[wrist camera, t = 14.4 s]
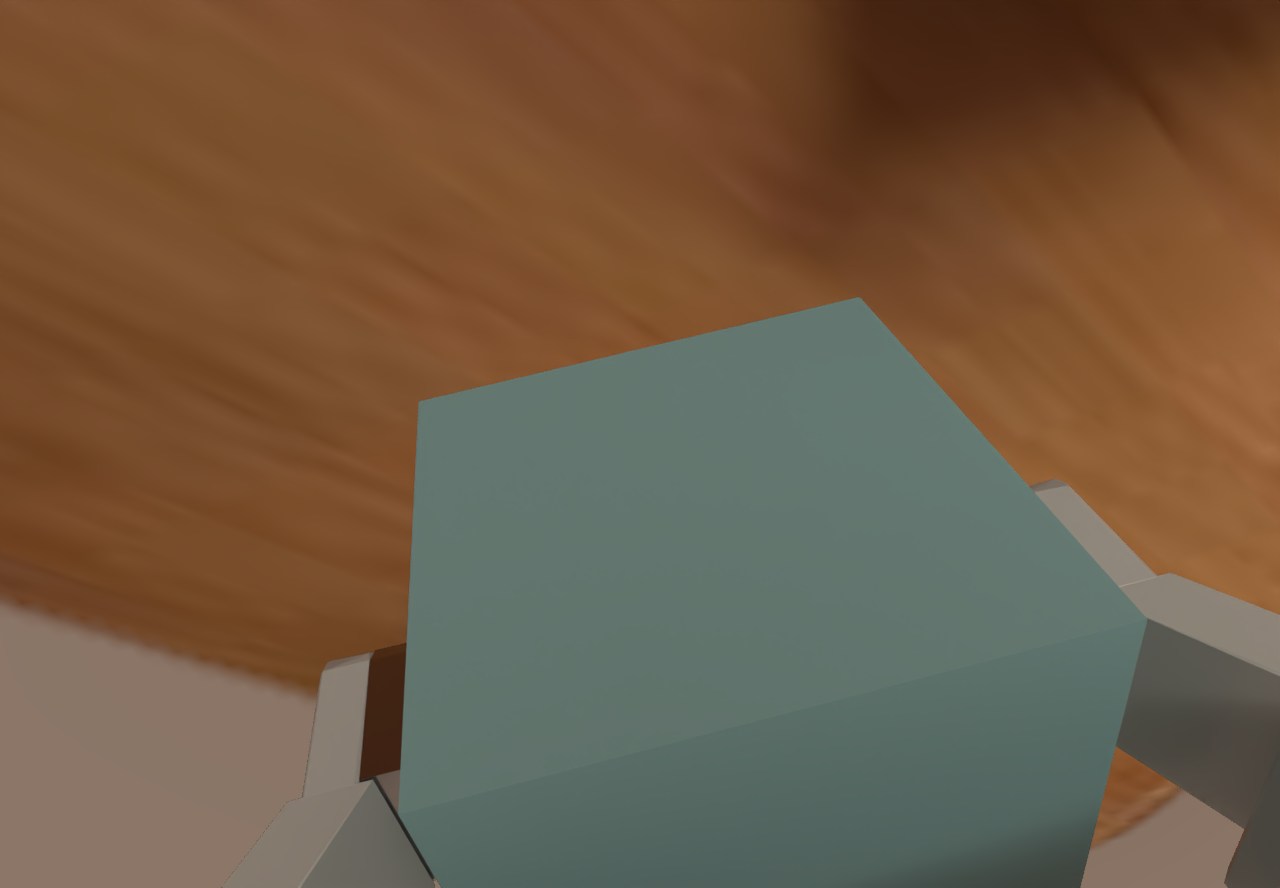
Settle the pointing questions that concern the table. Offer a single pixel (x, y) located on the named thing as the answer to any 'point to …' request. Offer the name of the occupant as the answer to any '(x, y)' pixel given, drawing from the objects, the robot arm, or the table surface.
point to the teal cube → (749, 629)
